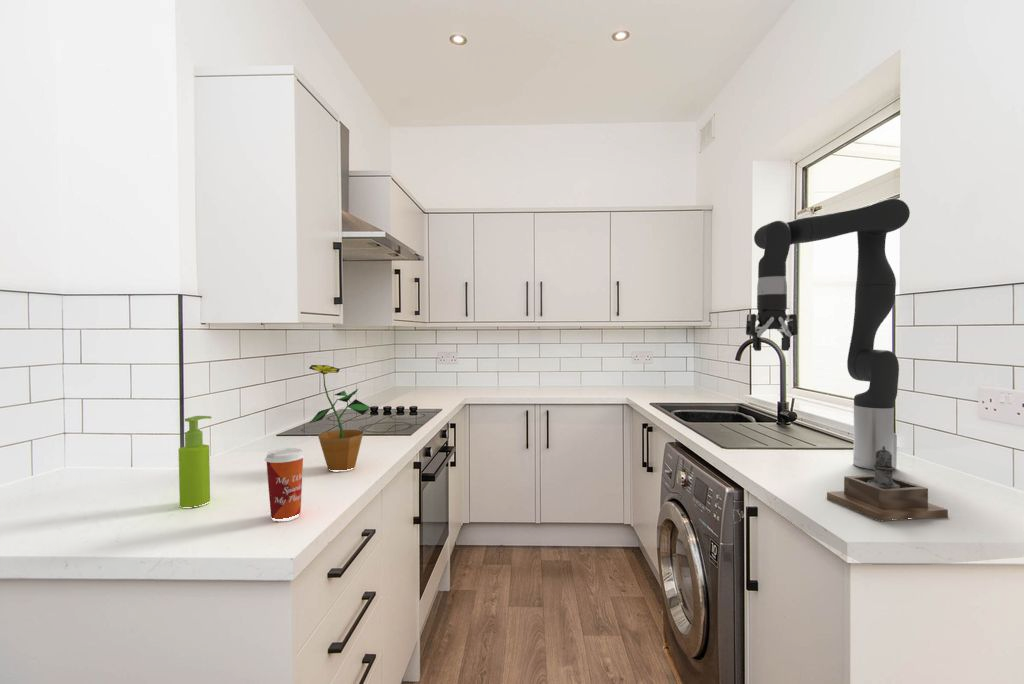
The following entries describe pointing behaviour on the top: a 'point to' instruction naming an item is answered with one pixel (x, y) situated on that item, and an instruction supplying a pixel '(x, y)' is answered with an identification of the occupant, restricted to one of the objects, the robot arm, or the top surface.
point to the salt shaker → (883, 470)
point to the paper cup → (285, 481)
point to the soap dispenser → (194, 467)
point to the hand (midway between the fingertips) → (771, 350)
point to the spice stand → (886, 499)
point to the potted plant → (339, 443)
